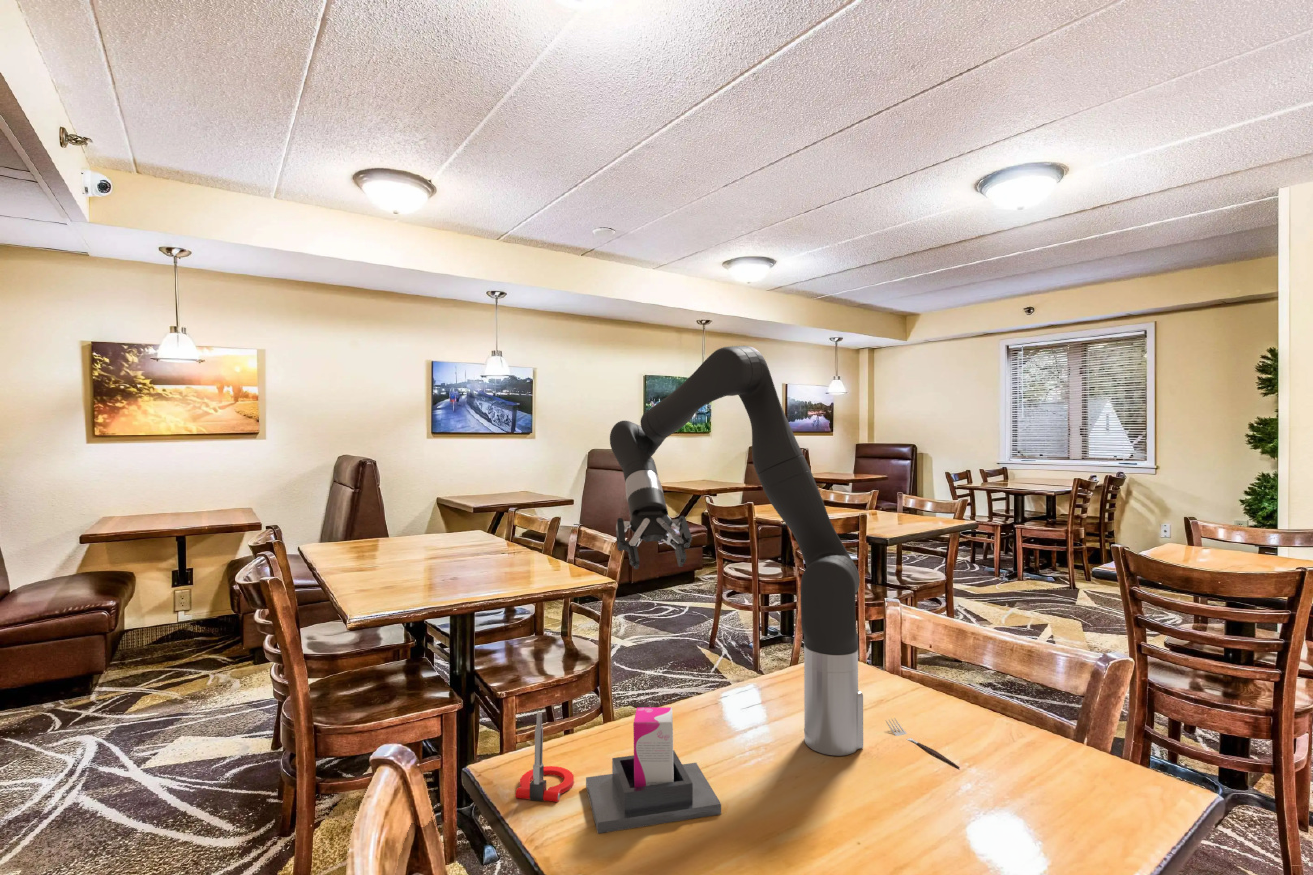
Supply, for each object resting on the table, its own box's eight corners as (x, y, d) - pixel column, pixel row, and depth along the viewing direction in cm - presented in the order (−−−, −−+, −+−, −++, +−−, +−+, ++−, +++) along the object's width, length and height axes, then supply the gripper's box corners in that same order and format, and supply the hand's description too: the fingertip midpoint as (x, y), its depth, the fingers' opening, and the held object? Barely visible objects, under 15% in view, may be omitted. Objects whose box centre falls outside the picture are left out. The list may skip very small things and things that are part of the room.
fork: (953, 772, 104) (953, 760, 104) (884, 730, 119) (884, 720, 119) (965, 769, 105) (965, 757, 105) (895, 728, 120) (895, 717, 120)
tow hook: (530, 770, 105) (509, 800, 96) (532, 691, 106) (510, 712, 97) (579, 775, 104) (563, 805, 95) (581, 694, 105) (564, 716, 95)
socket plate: (696, 771, 104) (696, 744, 104) (721, 814, 92) (721, 783, 92) (586, 786, 100) (585, 758, 100) (597, 833, 88) (597, 800, 88)
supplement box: (673, 779, 99) (673, 706, 99) (673, 801, 93) (672, 723, 93) (636, 779, 99) (636, 705, 99) (633, 801, 93) (633, 722, 93)
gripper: (613, 486, 125) (624, 555, 114) (682, 484, 129) (700, 551, 118) (608, 510, 130) (619, 578, 119) (675, 508, 134) (692, 574, 123)
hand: (659, 565), depth 119 cm, fingers open, 8 cm apart
